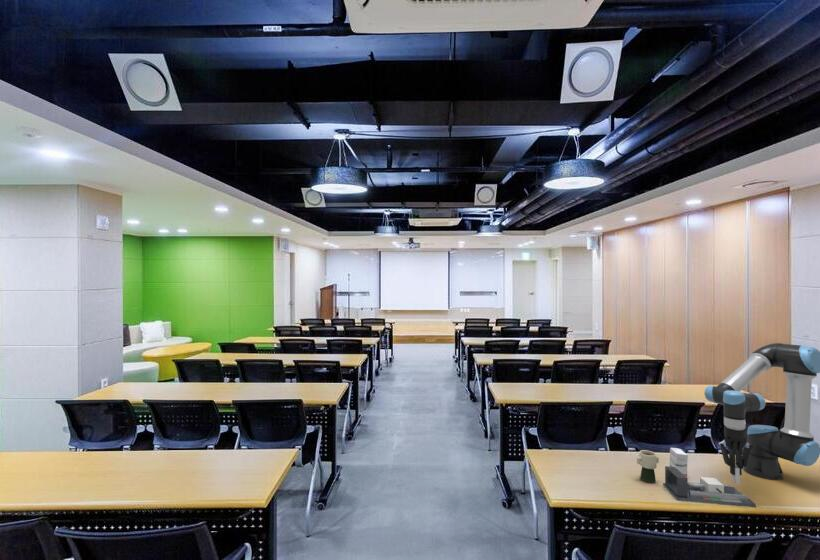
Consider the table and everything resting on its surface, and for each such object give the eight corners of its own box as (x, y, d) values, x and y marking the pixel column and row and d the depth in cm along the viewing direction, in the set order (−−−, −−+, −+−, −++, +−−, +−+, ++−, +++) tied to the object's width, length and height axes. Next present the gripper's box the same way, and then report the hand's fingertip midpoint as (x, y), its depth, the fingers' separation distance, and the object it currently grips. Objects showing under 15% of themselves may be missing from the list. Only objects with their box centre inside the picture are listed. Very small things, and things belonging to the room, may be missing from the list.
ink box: (688, 480, 199) (688, 454, 200) (676, 478, 200) (676, 453, 201) (680, 472, 208) (680, 448, 208) (669, 471, 209) (668, 447, 209)
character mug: (653, 476, 202) (653, 449, 202) (664, 483, 195) (663, 455, 195) (632, 477, 201) (632, 450, 201) (642, 484, 194) (642, 456, 194)
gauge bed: (735, 491, 188) (735, 470, 188) (756, 507, 174) (755, 484, 175) (663, 485, 193) (663, 465, 193) (677, 500, 179) (677, 478, 180)
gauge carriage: (714, 489, 186) (714, 478, 187) (729, 501, 176) (728, 489, 176) (685, 487, 188) (685, 475, 189) (697, 498, 178) (697, 486, 178)
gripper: (746, 425, 185) (747, 479, 185) (713, 424, 188) (714, 477, 187) (757, 431, 178) (758, 487, 178) (723, 429, 180) (724, 485, 180)
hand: (736, 482), depth 182 cm, fingers closed
